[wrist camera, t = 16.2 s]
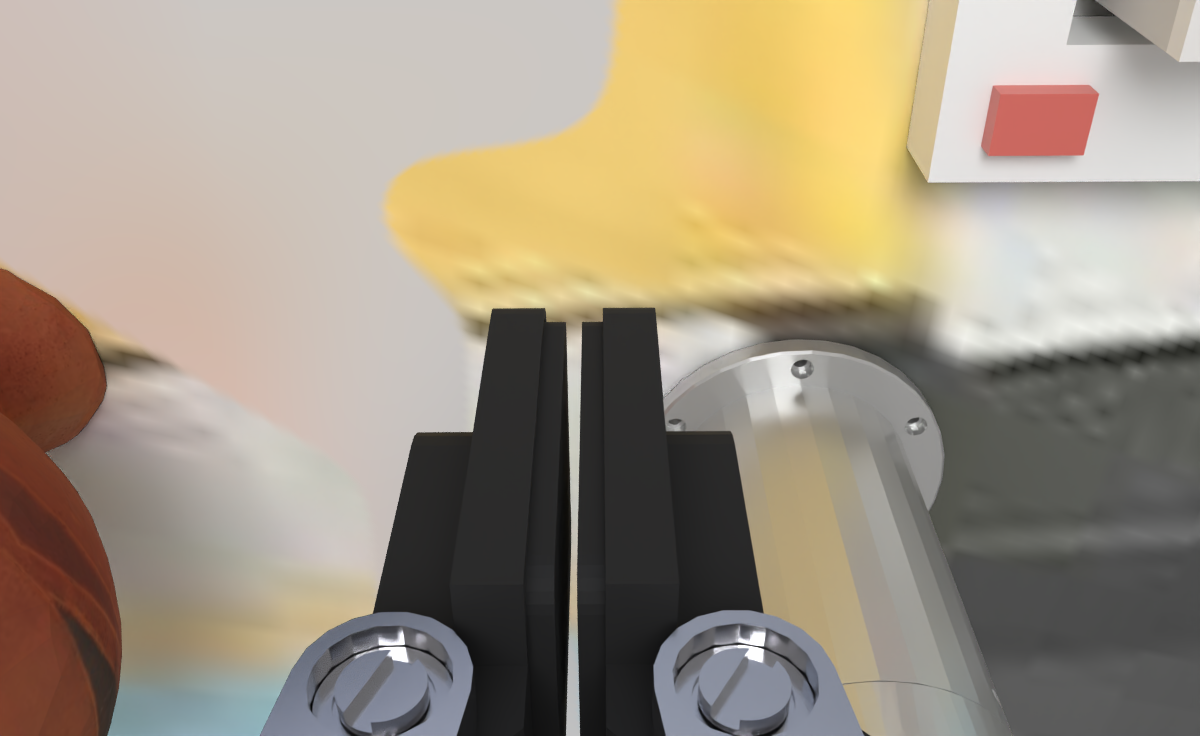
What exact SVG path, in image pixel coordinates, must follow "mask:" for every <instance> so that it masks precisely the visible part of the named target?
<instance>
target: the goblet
mask: <svg viewBox="0 0 1200 736" xmlns="http://www.w3.org/2000/svg"><path fill="white" fill-rule="evenodd" d="M106 386H107V385H106V379H105V372H104V367H103V364H102V362H101V360H100V357H99V355H98V353H97V351H96V348H95V346H94V344H93V341H92V339H91V337H90V335H89V332H88V330H87V329H86V328H85V327H84V326H83V325H82V324H81V323H80V322H79V321H78V320H77V319H76V318H75V317H74V316H73V315H72V314H71V313H70V312H69V311H68V310H67V309H66V308H65V307H64V306H63V305H62V304H61V303H60V302H59V301H58V300H57V299H56V298H54V297H53V296H51V295H49V294H47V293H45V292H43V291H42V290H40V289H38V288H36V287H34V286H32V285H31V284H29V283H27V282H25V281H23V280H21V279H19V278H18V277H16V276H15V275H13V274H12V273H10V272H9V271H7V270H3V269H0V736H107V735H108V731H109V728H110V725H111V721H112V716H113V711H114V707H115V703H116V698H117V694H118V689H119V681H120V670H121V659H122V639H121V619H120V614H119V608H118V603H117V597H116V592H115V586H114V582H113V578H112V574H111V570H110V566H109V562H108V558H107V555H106V552H105V550H104V547H103V544H102V542H101V539H100V537H99V534H98V532H97V529H96V526H95V524H94V521H93V519H92V516H91V514H90V513H89V511H88V509H87V508H86V506H85V504H84V503H83V501H82V499H81V497H80V496H79V494H78V492H77V491H76V490H75V488H74V487H73V486H72V484H71V483H70V481H69V480H68V479H67V477H66V476H65V475H64V473H63V472H62V471H61V470H60V469H59V468H58V467H57V466H56V464H55V463H54V462H53V461H52V460H51V459H50V458H49V457H48V456H47V454H46V453H45V452H47V451H49V450H51V449H54V448H56V447H58V446H60V445H62V444H65V443H67V442H68V441H69V440H71V439H72V438H74V437H75V436H77V435H78V434H79V433H80V431H81V430H82V429H83V428H84V427H85V426H86V424H87V423H88V422H89V420H90V419H91V417H92V416H93V414H94V413H95V411H96V410H97V408H98V407H99V405H100V404H101V402H102V401H103V398H104V394H105V390H106Z"/></svg>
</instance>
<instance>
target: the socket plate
mask: <svg viewBox="0 0 1200 736" xmlns="http://www.w3.org/2000/svg"><path fill="white" fill-rule="evenodd" d="M1076 1H1077V0H930V1H929V7H928V14H927V20H926V26H925V33H924V39H923V45H922V52H921V58H920V64H919V71H918V77H917V84H916V90H915V96H914V103H913V109H912V115H911V122H910V128H909V134H908V141H907V149H908V150H909V152H910V154H911V155H912V157H913V159H914V160H915V162H916V164H917V165H918V167H919V169H920V170H921V172H922V174H923V175H924V177H925V179H926V180H927V182H928V183H932V182H1130V181H1200V62H1178V61H1177V60H1176V59H1174V58H1173V57H1171V56H1170V55H1169V54H1167V53H1166V52H1165V51H1163V50H1162V49H1161V48H1159V47H1158V46H1156V45H1155V44H1154V43H1152V42H1151V41H1150V40H1148V39H1147V38H1146V37H1144V36H1143V35H1142V34H1140V33H1139V32H1137V31H1136V30H1135V29H1133V28H1132V27H1131V26H1129V25H1128V24H1127V23H1125V22H1124V21H1122V20H1121V19H1120V18H1118V17H1117V16H1073V14H1074V10H1075V5H1076Z"/></svg>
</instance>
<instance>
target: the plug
mask: <svg viewBox="0 0 1200 736" xmlns="http://www.w3.org/2000/svg"><path fill="white" fill-rule="evenodd" d="M1095 1H1097V2H1098V3H1099V4H1101V5H1102V6H1103V7H1105V8H1106V9H1107V10H1109V11H1110V12H1112V13H1113V14H1114V15H1116V16H1117V17H1118V18H1120V19H1121V20H1122V21H1124V22H1125V23H1127V24H1128V25H1129V26H1131V27H1132V28H1133V29H1135V30H1136V31H1137V32H1139V33H1140V34H1142V35H1143V36H1144V37H1146V38H1147V39H1148V40H1150V41H1151V42H1152V43H1154V44H1155V45H1156V46H1158V47H1159V48H1161V49H1162V50H1163V51H1165V52H1166V53H1167V54H1169V55H1170V56H1171V57H1173V58H1174V59H1176V60H1177V61H1178V62H1200V0H1095Z"/></svg>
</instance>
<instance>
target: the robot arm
mask: <svg viewBox="0 0 1200 736" xmlns="http://www.w3.org/2000/svg"><path fill="white" fill-rule="evenodd" d="M799 360H800V361H799ZM944 457H945V455H944V449H943V443H942V436H941V432H940V429H939V427H938V424H937V422H936V419H935V417H934V414H933V412H932V410H931V408H930V406H929V405H928V403H927V401H926V400H925V398H924V396H923V395H922V393H921V391H920V390H919V389H918V388H917V387H916V386H915V384H914V383H913V382H912V381H911V380H910V379H909V378H908V377H907V376H906V375H905V374H904V373H903V372H902V371H900V370H899V369H897V368H896V367H894V366H893V365H891V364H890V363H888V362H886V361H885V360H883V359H882V358H880V357H878V356H876V355H873V354H871V353H868V352H866V351H863V350H861V349H858V348H856V347H854V346H849V345H844V344H839V343H834V342H830V341H825V340H800V339H791V340H783V341H775V342H767V343H761V344H757V345H754V346H750V347H747V348H744V349H740V350H737V351H733V352H731V353H729V354H726V355H724V356H722V357H720V358H718V359H716V360H714V361H712V362H710V363H707V364H705V365H704V366H702V367H701V368H699V369H698V370H697V371H695V372H694V373H692V374H691V375H689V376H688V377H687V378H685V379H684V380H682V381H681V382H680V383H679V384H678V385H677V386H676V387H675V388H674V389H673V390H672V391H671V392H670V393H669V394H668V395H667V396H666V397H665V398H664V399H663V392H662V380H661V369H660V357H659V346H658V334H657V323H656V312H655V308H603V322H582V361H581V410H580V459H579V509H578V559H577V607H578V656H579V702H580V736H1013V735H1012V732H1011V729H1010V727H1009V724H1008V721H1007V719H1006V716H1005V714H1004V711H1003V708H1002V705H1001V703H1000V700H999V698H998V695H997V692H996V690H995V687H994V685H993V682H992V679H991V677H990V674H989V671H988V669H987V666H986V663H985V661H984V658H983V655H982V653H981V650H980V647H979V645H978V642H977V640H976V637H975V634H974V632H973V629H972V626H971V624H970V621H969V618H968V616H967V613H966V610H965V608H964V605H963V603H962V600H961V597H960V595H959V592H958V589H957V587H956V584H955V581H954V579H953V576H952V573H951V571H950V568H949V566H948V563H947V560H946V558H945V555H944V552H943V550H942V547H941V544H940V542H939V539H938V536H937V534H936V531H935V528H934V526H933V523H932V521H931V518H930V515H929V513H928V512H929V510H930V509H931V507H932V505H933V504H934V502H935V500H936V497H937V494H938V491H939V488H940V485H941V482H942V479H943V468H944ZM570 567H571V503H570V462H569V422H568V381H567V340H566V322H546V311H545V308H516V309H492V313H491V319H490V325H489V332H488V338H487V345H486V351H485V358H484V364H483V371H482V377H481V384H480V390H479V397H478V403H477V410H476V416H475V422H474V429H473V432H442V433H439V432H438V433H436V432H433V433H417V434H416V435H415V436H414V439H413V442H412V445H411V450H410V453H409V458H408V462H407V467H406V471H405V475H404V480H403V484H402V489H401V493H400V497H399V502H398V506H397V510H396V515H395V520H394V524H393V528H392V532H391V537H390V541H389V546H388V550H387V554H386V559H385V563H384V567H383V572H382V576H381V581H380V585H379V589H378V594H377V598H376V602H375V607H374V611H373V614H371V615H367V616H362V617H358V618H354V619H351V620H349V621H347V622H345V623H343V624H341V625H339V626H337V627H335V628H333V629H331V630H329V631H327V632H326V633H325V634H323V635H322V636H321V637H320V638H319V639H317V640H316V641H315V642H314V643H312V644H311V645H310V646H309V647H308V648H306V650H305V651H304V653H303V654H302V656H301V657H300V658H299V660H298V661H297V663H296V664H295V666H294V667H293V668H292V670H291V672H290V674H289V676H288V678H287V680H286V683H285V685H284V687H283V689H282V691H281V693H280V695H279V697H278V699H277V701H276V703H275V705H274V707H273V709H272V711H271V713H270V715H269V717H268V720H267V722H266V724H265V726H264V728H263V730H262V732H261V734H260V736H566V712H567V711H566V710H567V675H568V674H567V673H568V639H569V603H570Z"/></svg>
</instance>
